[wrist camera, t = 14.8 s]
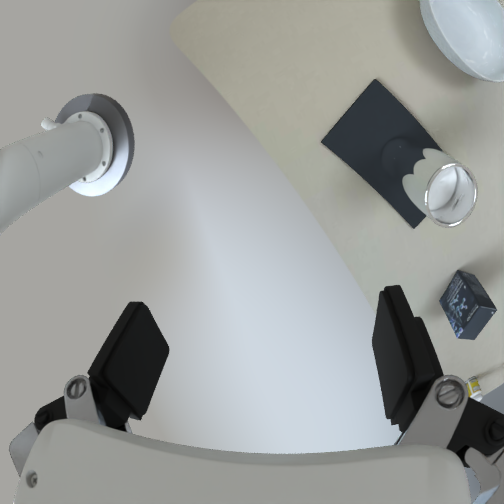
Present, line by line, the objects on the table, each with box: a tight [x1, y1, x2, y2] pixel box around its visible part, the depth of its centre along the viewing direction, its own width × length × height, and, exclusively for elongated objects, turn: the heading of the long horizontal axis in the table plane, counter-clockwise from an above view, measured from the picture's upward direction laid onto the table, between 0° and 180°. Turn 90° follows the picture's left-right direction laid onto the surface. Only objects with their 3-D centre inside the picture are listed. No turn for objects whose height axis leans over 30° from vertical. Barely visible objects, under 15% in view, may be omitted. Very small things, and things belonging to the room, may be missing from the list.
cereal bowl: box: [419, 0, 504, 82], centre depth 18 cm, size 17×17×7 cm
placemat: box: [321, 79, 443, 229], centre depth 33 cm, size 20×12×1 cm, turn 55°
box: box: [439, 270, 497, 340], centre depth 39 cm, size 8×6×11 cm
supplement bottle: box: [465, 377, 482, 402], centre depth 57 cm, size 5×5×8 cm
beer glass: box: [381, 138, 478, 228], centre depth 27 cm, size 7×7×15 cm
